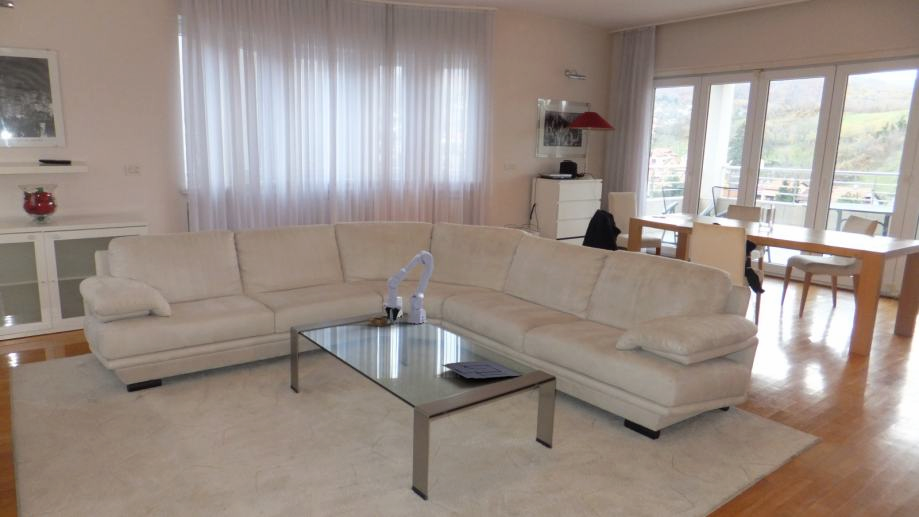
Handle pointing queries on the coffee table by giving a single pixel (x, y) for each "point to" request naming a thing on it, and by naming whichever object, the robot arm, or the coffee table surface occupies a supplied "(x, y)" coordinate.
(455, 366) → the grey flat block
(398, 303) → the supplement box
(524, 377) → the coffee table surface
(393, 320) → the dowel
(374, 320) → the brown square frame
